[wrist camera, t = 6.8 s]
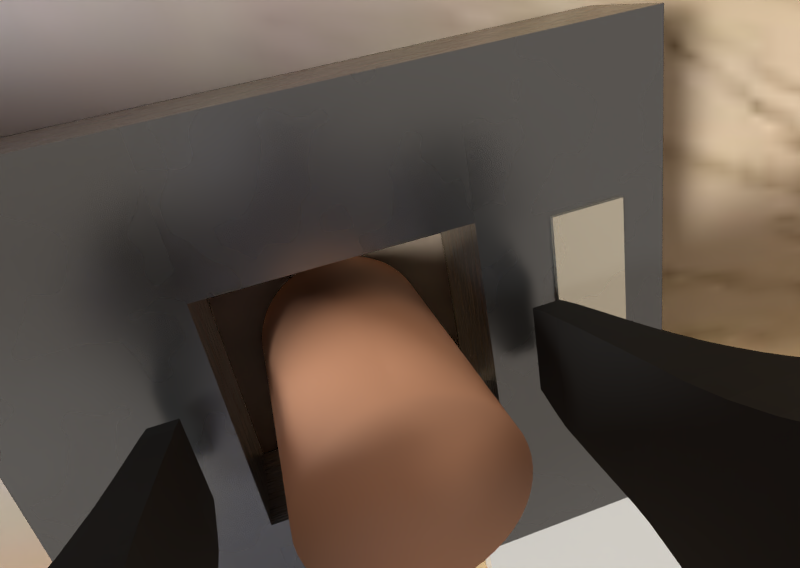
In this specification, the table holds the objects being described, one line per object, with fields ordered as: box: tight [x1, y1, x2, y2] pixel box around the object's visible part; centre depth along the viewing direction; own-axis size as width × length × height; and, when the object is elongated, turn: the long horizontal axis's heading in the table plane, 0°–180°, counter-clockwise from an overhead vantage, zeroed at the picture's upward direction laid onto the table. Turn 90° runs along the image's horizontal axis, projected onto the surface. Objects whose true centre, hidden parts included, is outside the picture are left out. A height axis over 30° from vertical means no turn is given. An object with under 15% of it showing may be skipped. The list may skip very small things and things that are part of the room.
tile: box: [486, 497, 682, 568], centre depth 20 cm, size 7×7×1 cm
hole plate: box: [0, 3, 664, 568], centre depth 14 cm, size 12×14×3 cm
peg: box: [262, 256, 533, 568], centre depth 12 cm, size 4×4×6 cm
